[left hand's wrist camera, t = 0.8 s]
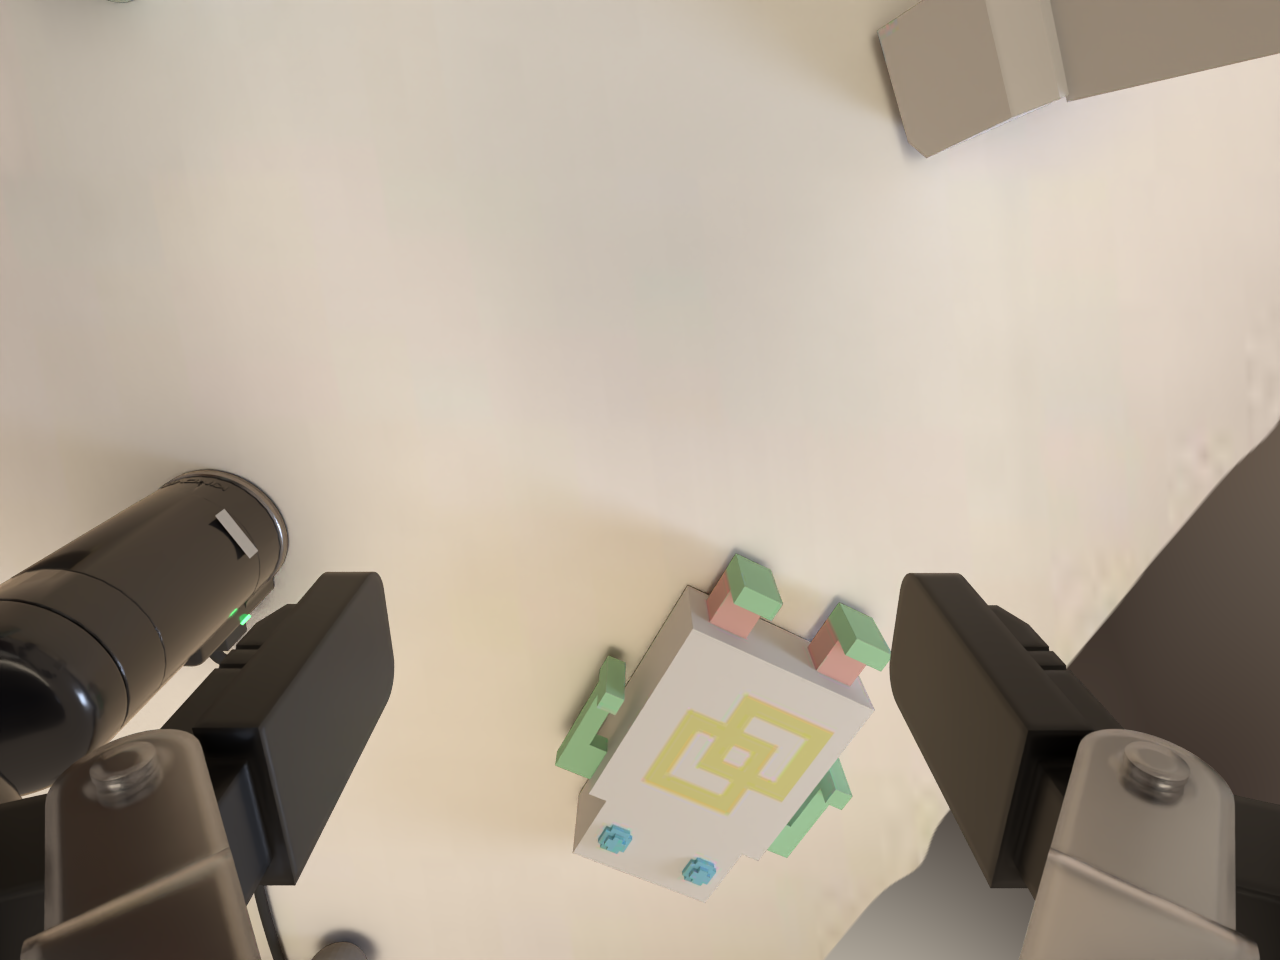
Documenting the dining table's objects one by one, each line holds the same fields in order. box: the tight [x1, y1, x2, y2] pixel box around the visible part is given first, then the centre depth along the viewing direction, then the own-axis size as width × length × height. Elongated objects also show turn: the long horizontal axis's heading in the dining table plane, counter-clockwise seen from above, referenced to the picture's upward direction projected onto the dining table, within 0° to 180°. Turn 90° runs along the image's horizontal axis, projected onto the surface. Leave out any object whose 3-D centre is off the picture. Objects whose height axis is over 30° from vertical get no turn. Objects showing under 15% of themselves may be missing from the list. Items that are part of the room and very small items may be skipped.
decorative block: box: [555, 554, 891, 903], centre depth 54 cm, size 26×6×20 cm
